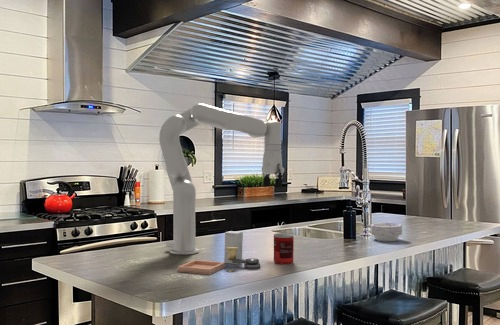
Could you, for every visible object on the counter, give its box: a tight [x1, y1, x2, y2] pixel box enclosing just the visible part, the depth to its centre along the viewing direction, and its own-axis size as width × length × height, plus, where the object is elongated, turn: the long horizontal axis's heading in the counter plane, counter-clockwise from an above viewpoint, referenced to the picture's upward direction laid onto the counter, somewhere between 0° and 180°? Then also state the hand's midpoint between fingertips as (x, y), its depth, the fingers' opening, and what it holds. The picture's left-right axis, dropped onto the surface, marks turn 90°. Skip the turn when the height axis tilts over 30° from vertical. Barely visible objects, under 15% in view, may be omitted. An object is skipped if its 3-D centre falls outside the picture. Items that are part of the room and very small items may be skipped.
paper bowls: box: [370, 222, 403, 242], centre depth 253 cm, size 15×15×8 cm
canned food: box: [273, 232, 295, 265], centre depth 199 cm, size 8×8×11 cm
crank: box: [227, 247, 260, 264], centre depth 191 cm, size 12×5×6 cm, turn 87°
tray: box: [177, 259, 226, 275], centre depth 187 cm, size 13×13×2 cm
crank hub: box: [243, 262, 261, 270], centre depth 190 cm, size 6×6×1 cm
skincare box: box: [223, 230, 244, 265], centre depth 199 cm, size 6×4×12 cm
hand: (272, 186), depth 227 cm, fingers open, 9 cm apart
